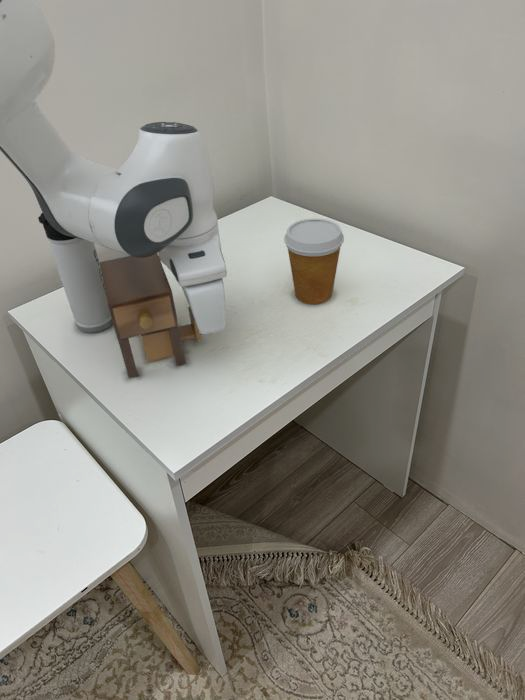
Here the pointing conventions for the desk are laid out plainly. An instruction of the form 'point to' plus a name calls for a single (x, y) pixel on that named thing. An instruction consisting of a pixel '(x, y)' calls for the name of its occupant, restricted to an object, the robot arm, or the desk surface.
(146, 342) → the wooden drawer
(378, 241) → the desk surface
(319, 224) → the disposable coffee cup
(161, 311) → the drawer unit
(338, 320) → the desk surface
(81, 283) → the travel mug
